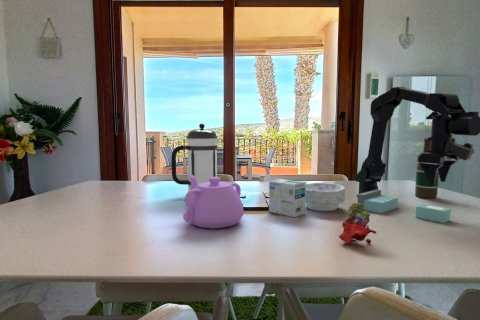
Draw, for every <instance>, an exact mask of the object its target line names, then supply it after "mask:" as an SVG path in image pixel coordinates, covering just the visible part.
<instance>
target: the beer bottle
mask: <svg viewBox="0 0 480 320" xmlns="http://www.w3.org/2000/svg"><path fill="white" fill-rule="evenodd" d="M423 143H424V144H423V151H422V153H425V152H427V150H430V141H429V140H428V137H425V138H424V139H423ZM419 163H420V162H418V163H417V164H416V168H415V169H416V170H415V171H416V174H415V189H414V191H415V193H414V195H415V197H417V198H419V199H424V200H434V199H437V197H438V188H439V187H438V185H439V173H438V172H437V176H436V180H435V183H434V185H430V184H429V182H428V180H427V177H426V175H425V173H424V171H423V169H422V167H421V165H420V164H419Z"/></svg>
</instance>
